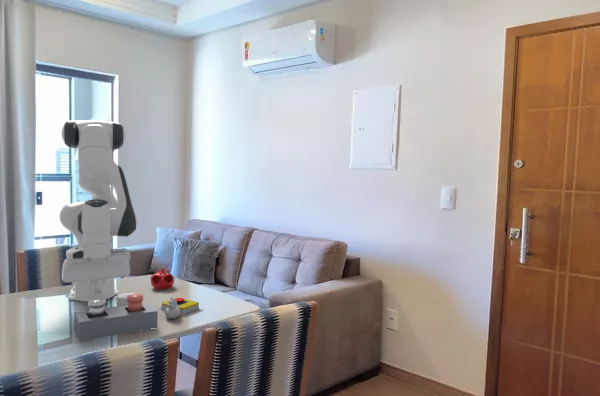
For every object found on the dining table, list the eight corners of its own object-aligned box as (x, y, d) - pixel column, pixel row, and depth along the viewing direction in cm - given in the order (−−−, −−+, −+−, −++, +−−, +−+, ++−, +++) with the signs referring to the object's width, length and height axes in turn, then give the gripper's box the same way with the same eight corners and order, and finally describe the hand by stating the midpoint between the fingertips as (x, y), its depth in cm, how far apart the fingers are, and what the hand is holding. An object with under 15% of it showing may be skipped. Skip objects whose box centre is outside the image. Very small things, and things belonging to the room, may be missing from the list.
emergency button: (175, 293, 187) (204, 300, 179) (175, 304, 187) (204, 311, 180) (157, 299, 179) (187, 306, 171) (157, 310, 179) (187, 318, 172)
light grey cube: (134, 313, 174) (134, 297, 173) (116, 314, 172) (116, 298, 172) (134, 308, 179) (134, 292, 179) (117, 309, 178) (117, 293, 177)
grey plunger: (87, 314, 154) (86, 299, 154) (104, 312, 157) (104, 297, 156) (89, 319, 150) (89, 304, 149) (107, 316, 152) (107, 301, 152)
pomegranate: (151, 286, 212) (151, 265, 211) (174, 285, 214) (174, 264, 213) (149, 291, 202) (149, 270, 201) (174, 290, 204) (173, 269, 204)
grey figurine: (161, 319, 168) (161, 297, 167) (171, 313, 174) (171, 292, 173) (174, 321, 166) (174, 299, 166) (184, 315, 173) (184, 294, 172)
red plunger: (125, 309, 160) (125, 295, 160) (141, 307, 163) (141, 293, 163) (128, 313, 156) (129, 298, 156) (144, 311, 159) (145, 296, 159)
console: (74, 330, 155) (74, 312, 155) (148, 318, 168) (148, 302, 167) (79, 341, 146) (79, 322, 145) (157, 328, 159) (157, 311, 158)
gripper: (128, 246, 160) (128, 286, 161) (60, 251, 149) (61, 294, 150) (132, 249, 154) (132, 291, 156) (63, 254, 143) (63, 299, 144)
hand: (97, 292), depth 153 cm, fingers closed
